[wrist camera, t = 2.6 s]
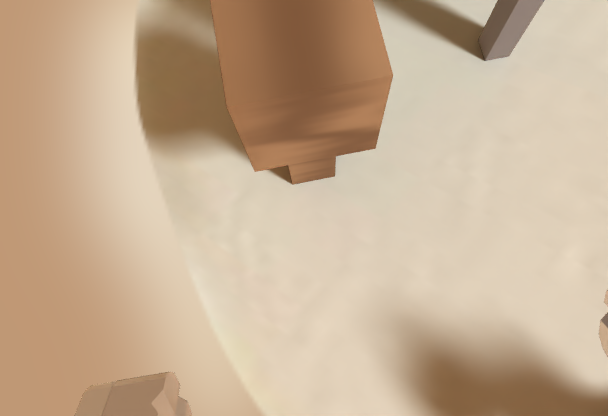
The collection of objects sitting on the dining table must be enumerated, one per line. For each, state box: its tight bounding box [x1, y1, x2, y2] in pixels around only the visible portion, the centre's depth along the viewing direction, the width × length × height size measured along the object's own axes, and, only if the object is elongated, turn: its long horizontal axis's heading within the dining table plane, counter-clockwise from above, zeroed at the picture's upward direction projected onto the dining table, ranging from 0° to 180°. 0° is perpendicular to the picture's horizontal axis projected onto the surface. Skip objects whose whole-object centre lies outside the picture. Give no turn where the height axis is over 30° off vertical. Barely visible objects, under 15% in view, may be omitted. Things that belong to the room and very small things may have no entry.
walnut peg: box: [210, 0, 393, 184], centre depth 26 cm, size 6×6×15 cm
